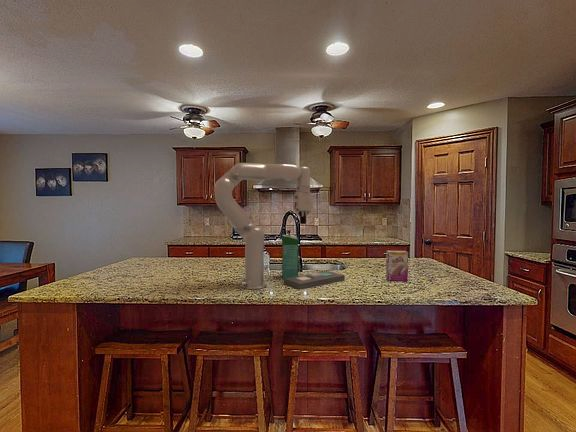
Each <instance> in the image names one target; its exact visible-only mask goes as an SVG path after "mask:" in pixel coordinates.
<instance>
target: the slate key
mask: <svg viewBox="0 0 576 432" xmlns="http://www.w3.org/2000/svg"><path fill="white" fill-rule="evenodd" d="M306 275H307V277H310V278H313V279H316V278H321V277H323V274H319V273H318V272H311V273H309V272H308V273H307V274H306Z"/></svg>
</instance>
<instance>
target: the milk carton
mask: <svg viewBox="0 0 576 432" xmlns="http://www.w3.org/2000/svg"><path fill="white" fill-rule="evenodd" d="M281 237H282V238H281V240H282V241H281V243H282V244H281V252H282V253H281V254H282V255H281V256H282V257H281V267H282V268H281V269H282V270H281V277H282V278H281V279H282V280H284V278H290V277H295V276H299V237H297V235H293V234H289V235H288V234H282V236H281Z"/></svg>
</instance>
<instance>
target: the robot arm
mask: <svg viewBox="0 0 576 432" xmlns="http://www.w3.org/2000/svg"><path fill="white" fill-rule="evenodd" d="M246 180H247V181H272V180H285V181H288V182H289V181H295V187H294V190H295V191H296V192H295V193H294V200H293V210H294V213H295V214H297V215H298V217H299V223H300V225H307V217H308V215H309V214H311V213H312V210H313V209H314V204H313V195H312V192H311V186H310V185H311V169H310V167H308V166H298V165H295V164H290V163H289V164H286V163H283V164H282V163H253V162H237V163H236V164H234V165H233V166H232V167H231V168H230V169H229V170H228V171H227V172H225V173H224V174H223V175H222V176H221V177H220V178H219V179H218V180H216V181H215V184H214V200H215V203H216V206H217V207H218V208H219V210H220V211H221V212H222V213H223V215H225V217H226V218H227V220H228V222H229V224H230V226H231V227H232V229H234V231H236V233H237V234H238V235H239V236H240V237H241V238H242V239H243V240H244V241H245V246H244V266H245V267H244V272H245V273H244V277H243V278H242V279H241V280H238V281H236V285H237V286H239V285H240V286H241V287H242V288H244V289H247V290H260V289H265V288H267V284H268V283H266V282H264V281H265V280H264V278H265V277H264V275H265V274H264V273H265V272H264V269H265V268H264V250H265V249H264V248H265V247H264V246H265V233H264V230H263V229H262V228H261V227H260V226H257V225H255V224H254V223H253V222H252V221H251V220H250V216H249V214H248V213H247V212H246V211H245V210H244V209H243V208H242V206H241V205H239V204H238V202H237V201H236V200H235V199H234V197H233V191H234V189H235V187H236V186H237V185H239V184H240V183H241V182H242V181H246Z"/></svg>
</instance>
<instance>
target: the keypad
mask: <svg viewBox="0 0 576 432" xmlns="http://www.w3.org/2000/svg"><path fill="white" fill-rule="evenodd" d="M317 273H319V274H321V273H329V274H333V275H332V276H327V277H324V276H323V277H321V278H316V279H313V278H311V280H305V281H301V280H298V279H296V278H298V277H307V274H302V275H298V276H295V277H290V278H284V279H283V285H285V286H287V287H288V286H289V287H291V288H294V289H297V290H299V291H301V290H305V289H311V288H316V287H320V286H324V285H331V284H334V283H340V282H344V281H345V279H346V278H345V277H346V276H345V275H344V274H341V273H336V272H332V271H329V270H325V271H320V272H318V271H317ZM308 278H310V277H308Z"/></svg>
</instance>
